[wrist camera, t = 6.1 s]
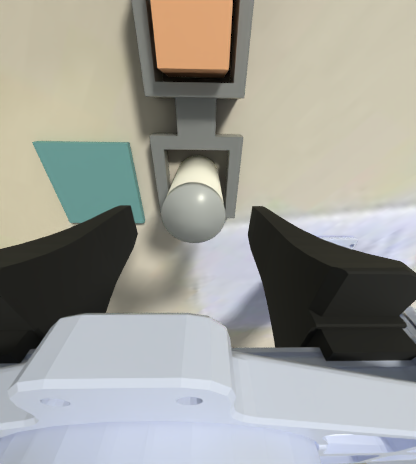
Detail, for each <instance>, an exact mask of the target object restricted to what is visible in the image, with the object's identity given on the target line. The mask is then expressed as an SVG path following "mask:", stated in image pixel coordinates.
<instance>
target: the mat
mask: <svg viewBox="0 0 416 464" xmlns="http://www.w3.org/2000/svg"><path fill="white" fill-rule="evenodd" d="M32 143H33V145H34V147H35V149H36V151H37V154H38V156H39V158H40V160H41V162H42V164H43V166H44V168H45V171H46V173H47V175H48V177H49V179H50V181H51V183H52V185H53V188H54V190H55V192H56V194H57V196H58V198H59V200H60V202H61V204H62V207H63V209H64V211H65V213H66V215H67V217H68V219H69V221H70V223H82V222H84V221H87V220H89V219H91V218H93V217H95V216H97V215H99V214H101V213H103V212H105V211H108V210H110V209H112V208H114V207H117V206H120V205H131V208H132V212H133V217H134V221H135V223H144V222H145V217H144V212H143V207H142V202H141V197H140V192H139V187H138V182H137V177H136V172H135V167H134V163H133V158H132V153H131V148H130V143H129V142H63V141H36V142H32Z"/></svg>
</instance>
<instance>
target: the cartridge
mask: <svg viewBox="0 0 416 464" xmlns="http://www.w3.org/2000/svg"><path fill="white" fill-rule="evenodd" d="M161 218H162V222H163V224H164V226H165V228H166V229H167V231H168V232H169V233H170V234H171V235H172V236H174V237H175V238H177V239H179V240H181V241H184V242H189V243H200V242H205V241H208V240H210V239H212V238H213V237H215V236H216V235H217V234H218V233H219V232H220V231H221V229H222V228H223V226H224V223H225V208H224V203H223V197H222V192H221V186H220V181H219V175H218V170H217V168H216V166H215V164H214V163H213V162H212V161H211V160H210V159H209V158H207V157H204V156H200V155H194V156H191V157H188V158H186V159H185V160H184V161H183V162H182V163H181V165H180V166H179V169H178V171H177V173H176V176H175V178H174V180H173V183H172V185H171V187H170V190H169V192H168V194H167V197H166V199H165V201H164V204H163V206H162V210H161Z"/></svg>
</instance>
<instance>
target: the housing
mask: <svg viewBox="0 0 416 464" xmlns="http://www.w3.org/2000/svg"><path fill="white" fill-rule="evenodd" d="M253 6H254V0H234V15H233V31H232V48H231V64H230V80H229V83H195V82H163V72H162V71H161V70H159V69H158V68H157V59H156V49H155V40H154V30H153V20H152V11H151V1H150V0H132V7H133V14H134V21H135V28H136V35H137V42H138V49H139V57H140V64H141V71H142V78H143V85H144V92H145V96H147V97H154V98H175V103H176V118H177V132H178V134H168V133H153V134H152V135H150V143H151V150H152V157H153V164H154V171H155V178H156V184H157V191H158V198H159V205H160V212H161V210H162V206H163V204H164V201H165V199H166V197H167V194H168V192H169V190H170V187H171V184H170V174H169V164H168V154H167V149H174V150H228V156H227V170H226V185H225V199H224V208H225V218H235V209H236V200H237V191H238V182H239V172H240V163H241V154H242V145H243V136H242V135H234V134H215V132H216V101H217V99H241V98H244V95H245V85H246V75H247V65H248V55H249V46H250V36H251V26H252V16H253Z"/></svg>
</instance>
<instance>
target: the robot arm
mask: <svg viewBox="0 0 416 464" xmlns="http://www.w3.org/2000/svg"><path fill="white" fill-rule="evenodd" d="M137 235H138V233H137V229H136V225H135V221H134V217H133V212H132V208H131V205H120V206H117V207H114V208H112V209H110V210H108V211H105V212H103V213H101V214H99V215H97V216H95V217H93V218H91V219H89V220H87V221H84V222H82V223H80V224H78V225H76V226H73V227H71V228H69V229H66V230H63V231H61V232H58V233H55V234H52V235H49V236H46V237H43V238H40V239H36V240H33V241H30V242H26V243H23V244H19V245H15V246H11V247H7V248H3V249H0V464H349V463H367V464H416V309H415V308H413V307H411V306H410V305H411V304H412V303H413V302H414V301H415V300H416V273H415V272H414V271H413V270H412V269H410V268H409V267H408V266H407V265H405V264H404V263H402V262H401V261H396V260H392V259H388V258H383V257H379V256H375V255H370V254H367V253H363V252H359V251H356V250H353V249H354V247H355V246H356V244H357V242H358V240H357V239H356V238H354V237H316V236H314V235H312V234H310V233H308V232H306V231H304V230H302V229H300V228H298V227H296V226H294V225H293V224H291V223H289V222H287V221H286V220H284V219H283V218H281V217H279V216H278V215H276V214H275V213H273V212H272V211H270V210H269V209H267V208H265V207H263V206H252V212H251V218H250V225H249V231H248V238H249V244H250V248H251V251H252V254H253V257H254V260H255V262H256V265H257V268H258V271H259V274H260V276H261V280H262V283H263V287H264V291H265V296H266V300H267V305H268V310H269V314H270V320H271V325H272V331H273V336H274V342H275V348H231V341H230V336H229V334H228V331H227V328H226V327H225V326H224V325H223V324H221V323H219V322H217V321H216V320H214V319H212V318H211V317H209V316H205V315H198V314H191V313H106V311H107V307H108V304H109V301H110V298H111V296H112V293H113V290H114V287H115V285H116V282H117V280H118V278H119V276H120V274H121V272H122V270H123V268H124V266H125V264H126V262H127V260H128V258H129V256H130V254H131V252H132V250H133V248H134V245H135V242H136V238H137Z"/></svg>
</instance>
